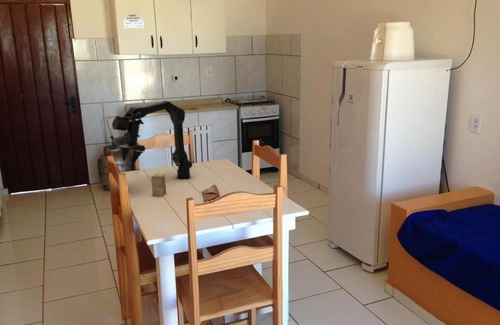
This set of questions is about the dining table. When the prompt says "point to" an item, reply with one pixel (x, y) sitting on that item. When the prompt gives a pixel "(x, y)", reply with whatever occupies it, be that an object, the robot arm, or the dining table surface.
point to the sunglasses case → (210, 193)
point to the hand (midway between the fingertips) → (128, 162)
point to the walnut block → (158, 185)
